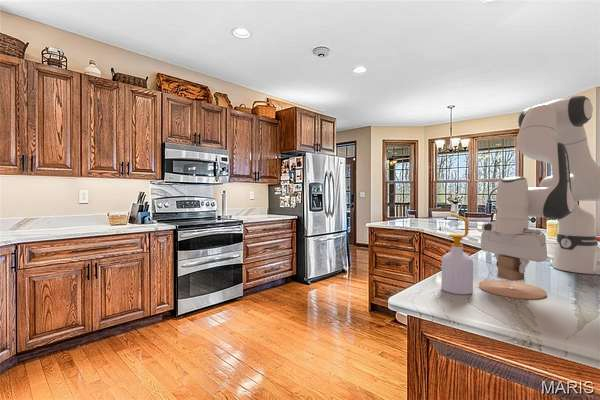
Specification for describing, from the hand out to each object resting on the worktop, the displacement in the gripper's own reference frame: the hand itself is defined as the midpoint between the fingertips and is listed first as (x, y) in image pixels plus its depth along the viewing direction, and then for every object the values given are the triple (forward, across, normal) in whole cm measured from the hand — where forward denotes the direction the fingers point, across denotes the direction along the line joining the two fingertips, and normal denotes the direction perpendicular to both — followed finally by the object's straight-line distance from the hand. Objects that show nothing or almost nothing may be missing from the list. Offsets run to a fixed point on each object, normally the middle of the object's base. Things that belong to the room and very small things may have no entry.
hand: (511, 270), depth 102 cm
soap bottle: (+7, +5, +17) cm, 19 cm away
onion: (+6, +16, -17) cm, 24 cm away
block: (+3, 0, 0) cm, 3 cm away
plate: (+6, 0, 0) cm, 6 cm away
